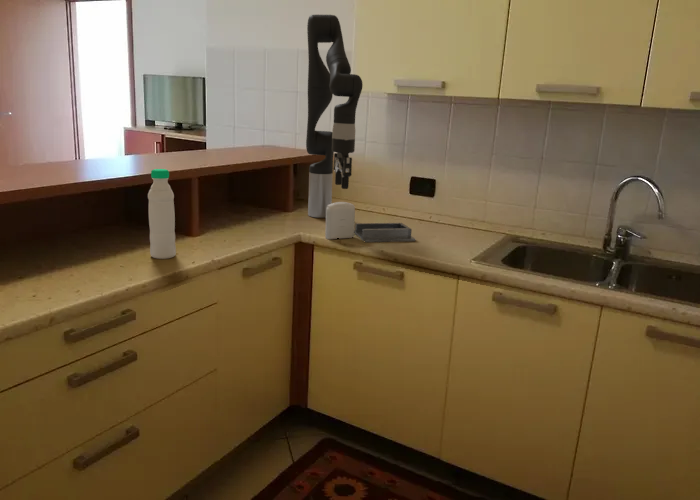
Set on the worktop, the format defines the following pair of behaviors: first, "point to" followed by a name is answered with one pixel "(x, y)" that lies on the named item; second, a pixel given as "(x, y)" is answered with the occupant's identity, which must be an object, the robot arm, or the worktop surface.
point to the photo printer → (340, 220)
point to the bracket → (383, 232)
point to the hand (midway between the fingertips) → (341, 186)
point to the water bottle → (161, 216)
